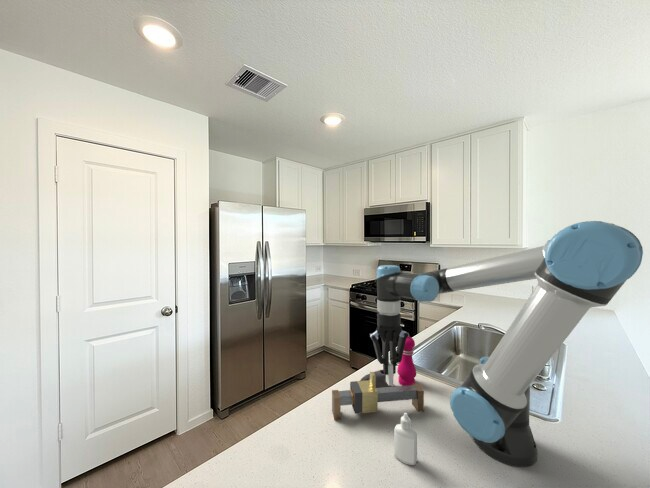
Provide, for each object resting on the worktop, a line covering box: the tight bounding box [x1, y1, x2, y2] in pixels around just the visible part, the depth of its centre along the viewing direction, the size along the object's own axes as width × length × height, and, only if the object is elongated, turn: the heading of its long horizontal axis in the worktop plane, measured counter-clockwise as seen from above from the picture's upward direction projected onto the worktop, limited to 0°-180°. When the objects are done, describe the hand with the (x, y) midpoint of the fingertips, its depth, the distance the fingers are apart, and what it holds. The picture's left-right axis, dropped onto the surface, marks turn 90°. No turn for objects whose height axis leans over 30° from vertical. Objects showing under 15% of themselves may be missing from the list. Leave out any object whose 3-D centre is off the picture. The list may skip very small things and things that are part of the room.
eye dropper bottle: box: [393, 412, 418, 466], centre depth 69 cm, size 4×6×12 cm
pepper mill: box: [396, 332, 417, 386], centre depth 105 cm, size 7×7×20 cm
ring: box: [349, 380, 363, 415], centre depth 87 cm, size 2×7×7 cm, turn 7°
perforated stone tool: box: [359, 369, 395, 388], centre depth 100 cm, size 15×5×7 cm, turn 105°
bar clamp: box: [331, 383, 425, 421], centre depth 88 cm, size 30×4×7 cm, turn 98°
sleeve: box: [356, 371, 379, 414], centre depth 87 cm, size 5×7×11 cm
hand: (389, 383), depth 87 cm, fingers closed
